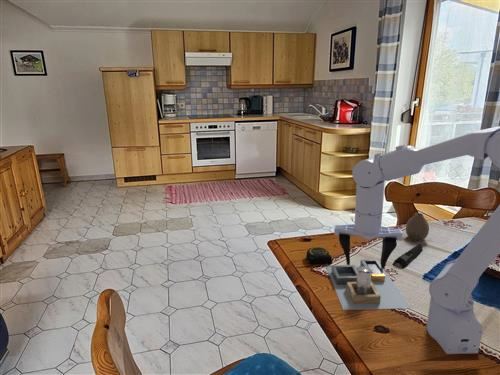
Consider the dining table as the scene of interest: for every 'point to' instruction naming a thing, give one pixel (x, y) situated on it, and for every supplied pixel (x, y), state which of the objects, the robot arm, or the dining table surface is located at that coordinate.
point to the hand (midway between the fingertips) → (365, 264)
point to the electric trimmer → (408, 256)
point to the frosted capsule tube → (363, 281)
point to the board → (385, 288)
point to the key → (376, 273)
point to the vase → (417, 227)
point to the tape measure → (318, 256)
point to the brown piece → (363, 299)
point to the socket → (351, 271)
